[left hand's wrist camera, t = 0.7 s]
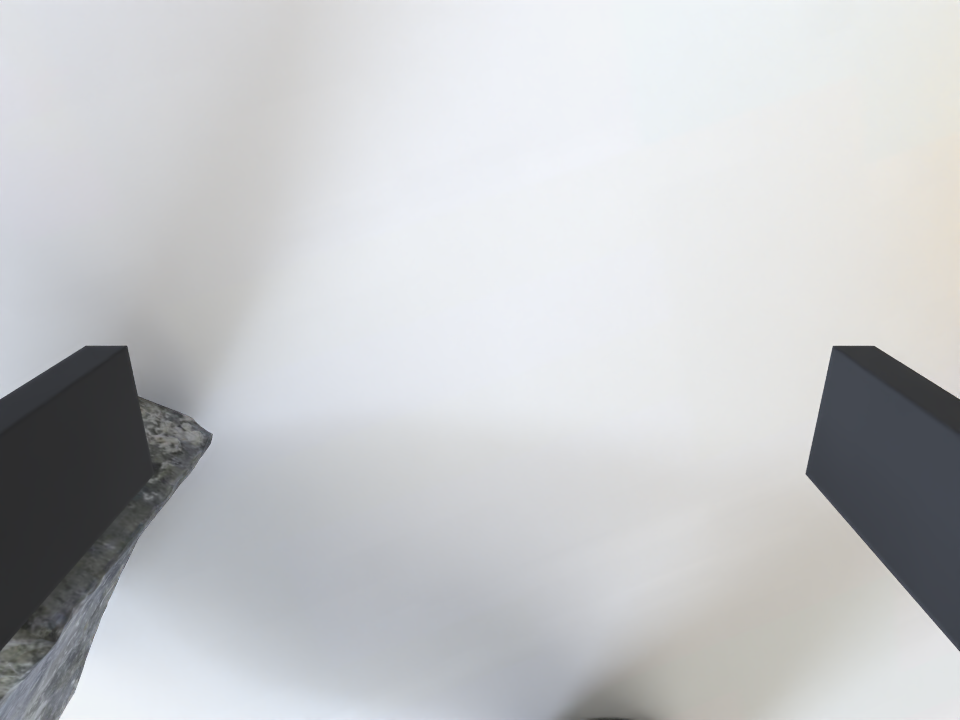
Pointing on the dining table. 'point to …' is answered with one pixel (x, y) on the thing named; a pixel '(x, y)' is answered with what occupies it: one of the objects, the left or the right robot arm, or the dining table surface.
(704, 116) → the dining table surface
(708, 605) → the dining table surface
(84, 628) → the concrete block
